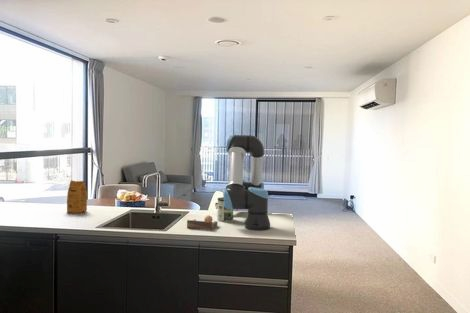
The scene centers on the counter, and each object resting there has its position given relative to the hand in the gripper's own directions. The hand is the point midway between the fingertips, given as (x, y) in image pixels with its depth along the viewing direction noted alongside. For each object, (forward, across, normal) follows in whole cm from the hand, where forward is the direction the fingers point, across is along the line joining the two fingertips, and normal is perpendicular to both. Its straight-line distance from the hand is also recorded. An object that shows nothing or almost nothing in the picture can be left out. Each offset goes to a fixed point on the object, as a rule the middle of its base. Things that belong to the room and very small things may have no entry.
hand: (226, 207), depth 230 cm
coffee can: (+3, 0, -8) cm, 8 cm away
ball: (+15, +7, -5) cm, 17 cm away
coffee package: (+13, +105, -8) cm, 106 cm away
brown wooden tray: (+25, +7, -8) cm, 27 cm away
